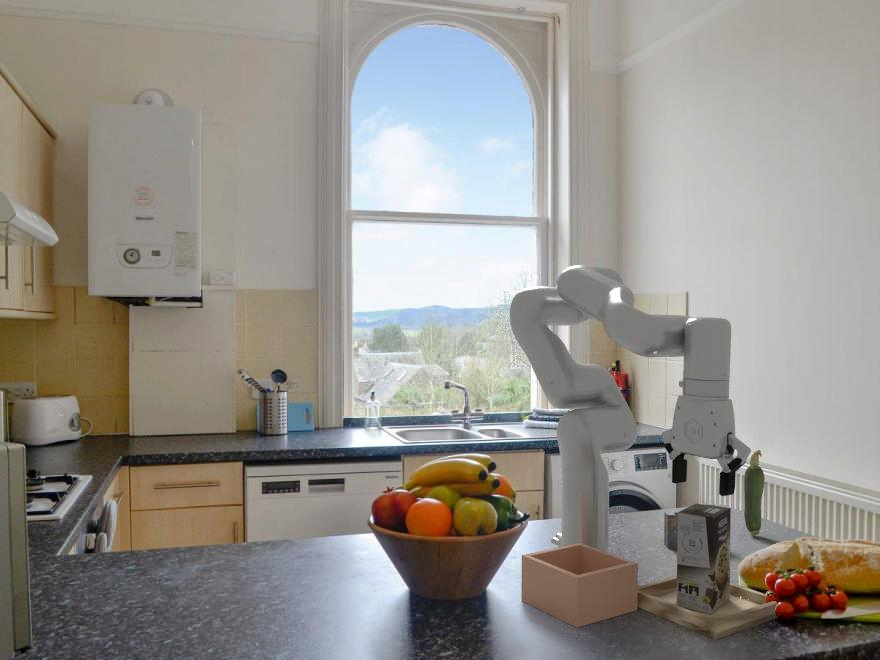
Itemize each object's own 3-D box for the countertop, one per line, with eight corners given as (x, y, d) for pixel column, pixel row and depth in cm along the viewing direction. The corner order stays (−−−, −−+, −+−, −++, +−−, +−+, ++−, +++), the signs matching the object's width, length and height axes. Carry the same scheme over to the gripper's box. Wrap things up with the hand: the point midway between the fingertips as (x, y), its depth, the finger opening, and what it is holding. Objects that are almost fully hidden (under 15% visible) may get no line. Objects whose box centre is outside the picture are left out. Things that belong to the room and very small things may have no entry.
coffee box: (713, 615, 122) (714, 517, 122) (675, 606, 126) (675, 511, 126) (731, 600, 129) (732, 507, 129) (694, 591, 133) (695, 501, 133)
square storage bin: (521, 600, 131) (521, 555, 131) (579, 585, 139) (580, 542, 139) (577, 627, 120) (577, 577, 120) (637, 609, 127) (637, 563, 127)
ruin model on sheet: (734, 538, 172) (734, 496, 172) (764, 560, 156) (764, 514, 156) (625, 537, 173) (626, 495, 173) (644, 559, 156) (644, 513, 156)
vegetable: (739, 533, 175) (740, 448, 175) (754, 531, 176) (755, 447, 176) (752, 538, 171) (753, 451, 170) (768, 537, 172) (769, 450, 172)
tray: (628, 603, 130) (628, 588, 130) (695, 584, 140) (695, 570, 140) (716, 639, 115) (716, 623, 115) (784, 615, 125) (784, 600, 125)
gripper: (651, 385, 133) (648, 480, 133) (736, 396, 118) (732, 503, 119) (679, 383, 137) (675, 475, 138) (764, 394, 122) (760, 497, 123)
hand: (702, 488), depth 128 cm, fingers open, 9 cm apart
